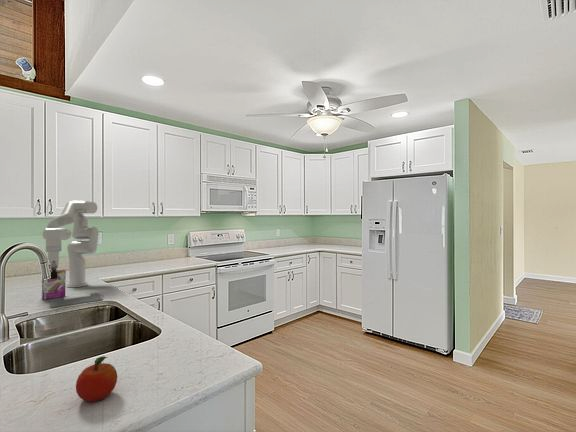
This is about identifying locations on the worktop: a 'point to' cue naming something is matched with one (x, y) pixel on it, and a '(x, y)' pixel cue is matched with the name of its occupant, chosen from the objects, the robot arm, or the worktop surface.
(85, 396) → the fruit
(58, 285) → the candy bar box
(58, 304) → the mat
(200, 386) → the worktop surface
